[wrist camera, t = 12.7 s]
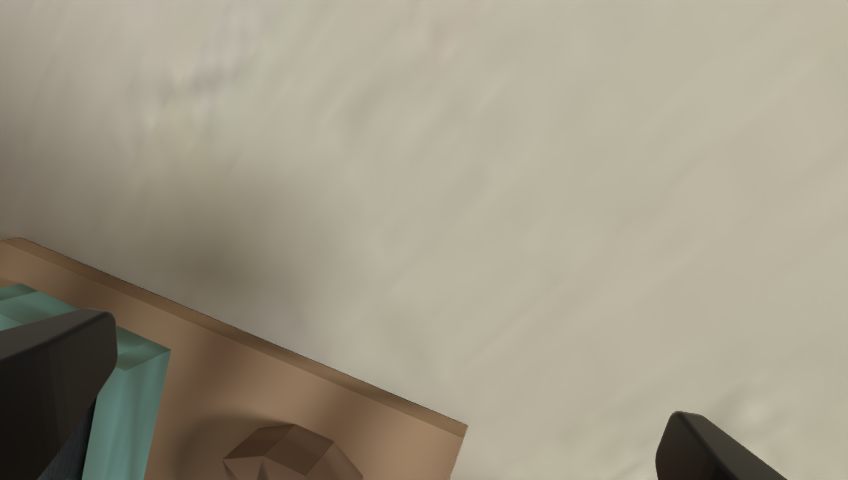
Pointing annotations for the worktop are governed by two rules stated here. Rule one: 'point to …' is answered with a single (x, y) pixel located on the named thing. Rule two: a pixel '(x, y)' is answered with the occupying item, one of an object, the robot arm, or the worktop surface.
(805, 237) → the worktop surface
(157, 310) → the bit holder
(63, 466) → the square bit
